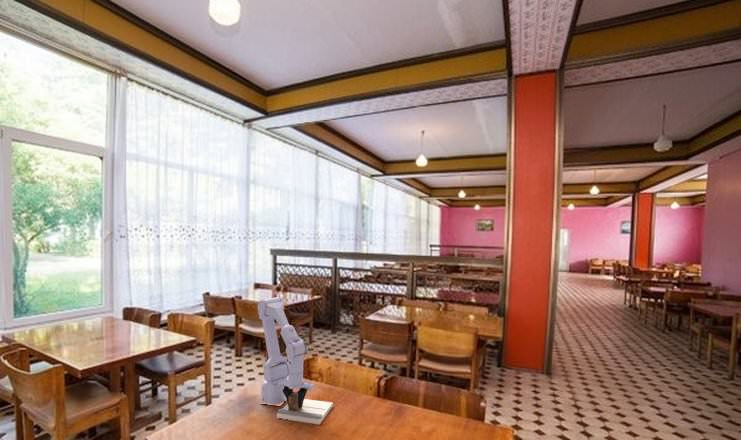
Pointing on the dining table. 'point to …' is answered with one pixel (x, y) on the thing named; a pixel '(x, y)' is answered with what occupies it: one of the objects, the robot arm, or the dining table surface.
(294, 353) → the robot arm
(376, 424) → the dining table surface
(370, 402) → the dining table surface
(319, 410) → the board
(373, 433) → the dining table surface
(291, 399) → the block
